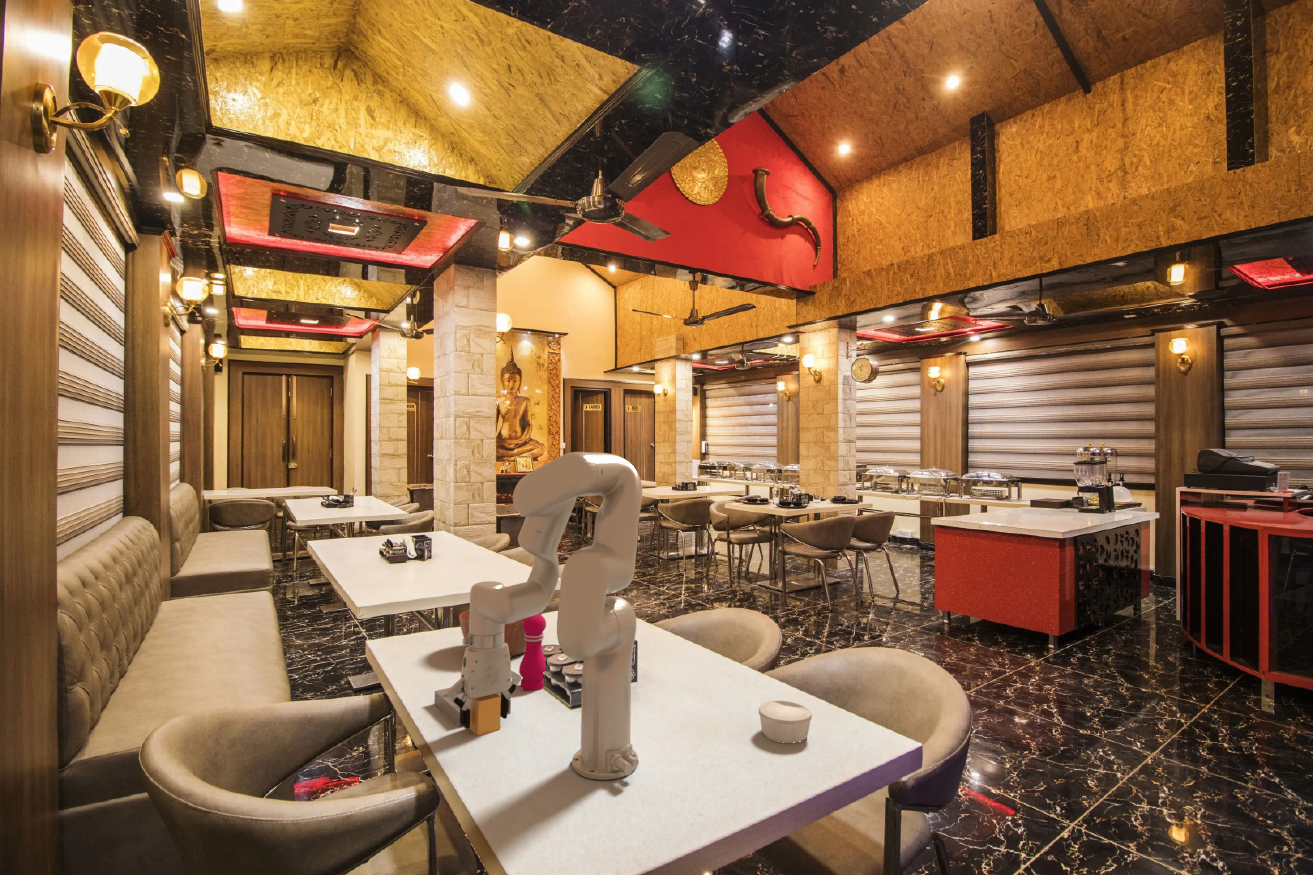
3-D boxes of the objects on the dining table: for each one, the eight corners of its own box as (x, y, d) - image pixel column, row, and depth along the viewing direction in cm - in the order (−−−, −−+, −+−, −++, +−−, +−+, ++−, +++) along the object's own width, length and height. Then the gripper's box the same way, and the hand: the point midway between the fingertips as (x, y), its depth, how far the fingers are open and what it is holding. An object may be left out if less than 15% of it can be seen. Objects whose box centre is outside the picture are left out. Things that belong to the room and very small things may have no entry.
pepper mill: (550, 682, 157) (552, 605, 158) (542, 692, 150) (544, 612, 151) (523, 680, 158) (525, 604, 159) (514, 690, 151) (516, 611, 152)
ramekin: (812, 727, 132) (812, 703, 132) (811, 749, 121) (811, 723, 122) (761, 720, 135) (761, 697, 135) (756, 742, 124) (756, 716, 125)
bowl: (518, 635, 201) (519, 601, 202) (556, 653, 182) (557, 615, 182) (445, 648, 185) (446, 611, 186) (477, 670, 166) (479, 628, 167)
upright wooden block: (500, 729, 129) (500, 696, 129) (477, 735, 126) (478, 701, 126) (490, 721, 133) (491, 689, 133) (468, 727, 130) (469, 694, 130)
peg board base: (510, 713, 137) (511, 677, 138) (459, 726, 130) (460, 689, 130) (482, 692, 150) (483, 660, 150) (434, 703, 142) (435, 669, 143)
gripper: (453, 651, 122) (450, 738, 121) (530, 636, 133) (528, 717, 132) (440, 642, 128) (438, 726, 127) (515, 629, 139) (513, 706, 138)
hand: (484, 721), depth 129 cm, fingers open, 7 cm apart
